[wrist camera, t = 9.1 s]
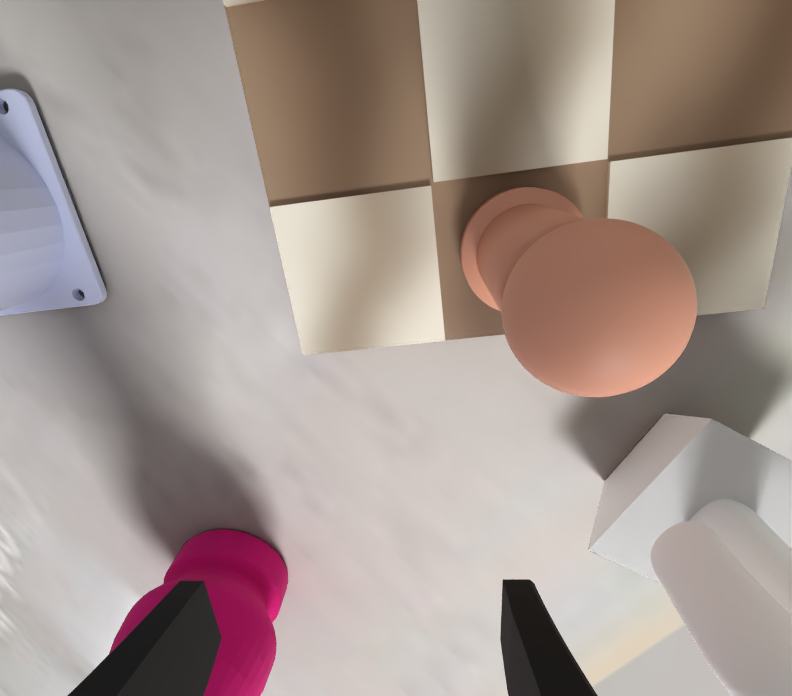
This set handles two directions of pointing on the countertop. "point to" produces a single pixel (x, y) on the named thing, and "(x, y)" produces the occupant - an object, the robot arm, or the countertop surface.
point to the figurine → (710, 543)
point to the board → (508, 143)
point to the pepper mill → (229, 605)
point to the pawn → (579, 292)
